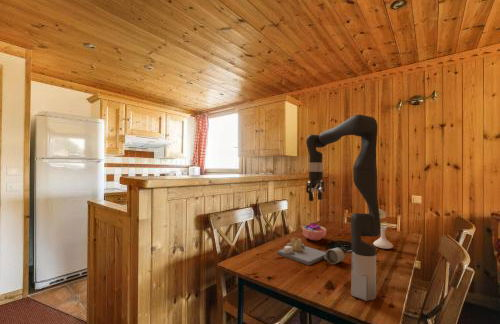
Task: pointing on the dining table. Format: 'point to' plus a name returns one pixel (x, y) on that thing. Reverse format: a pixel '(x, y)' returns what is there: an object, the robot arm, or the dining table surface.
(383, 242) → the flower in vase
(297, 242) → the gold hollow block
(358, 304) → the dining table surface
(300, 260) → the carrier
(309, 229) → the cell model
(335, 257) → the ceramic mug
